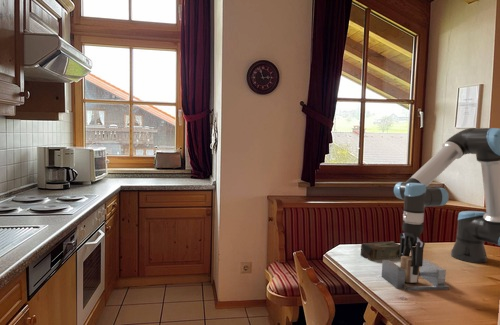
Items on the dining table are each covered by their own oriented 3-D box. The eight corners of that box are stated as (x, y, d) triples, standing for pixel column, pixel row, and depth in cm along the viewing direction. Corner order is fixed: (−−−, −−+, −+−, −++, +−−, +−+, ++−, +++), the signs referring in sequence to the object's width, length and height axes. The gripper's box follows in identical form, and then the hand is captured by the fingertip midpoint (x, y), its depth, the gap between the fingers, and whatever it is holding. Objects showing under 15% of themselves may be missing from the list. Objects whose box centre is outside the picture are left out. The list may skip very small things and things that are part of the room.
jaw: (426, 275, 158) (427, 259, 158) (444, 287, 147) (446, 269, 146) (419, 275, 158) (420, 259, 157) (437, 287, 146) (438, 270, 146)
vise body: (424, 273, 161) (425, 257, 160) (449, 289, 145) (450, 271, 144) (379, 274, 158) (380, 258, 157) (399, 291, 142) (401, 273, 141)
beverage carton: (402, 257, 182) (403, 244, 181) (370, 261, 175) (371, 247, 174) (390, 252, 189) (391, 239, 189) (359, 256, 182) (360, 242, 182)
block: (399, 277, 153) (401, 256, 152) (411, 277, 154) (412, 255, 153) (406, 282, 148) (408, 260, 147) (418, 282, 149) (419, 260, 148)
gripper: (392, 216, 157) (388, 271, 159) (417, 228, 139) (413, 288, 141) (408, 216, 158) (405, 270, 160) (436, 227, 140) (431, 288, 142)
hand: (409, 279), depth 151 cm, fingers closed on block, 5 cm apart
